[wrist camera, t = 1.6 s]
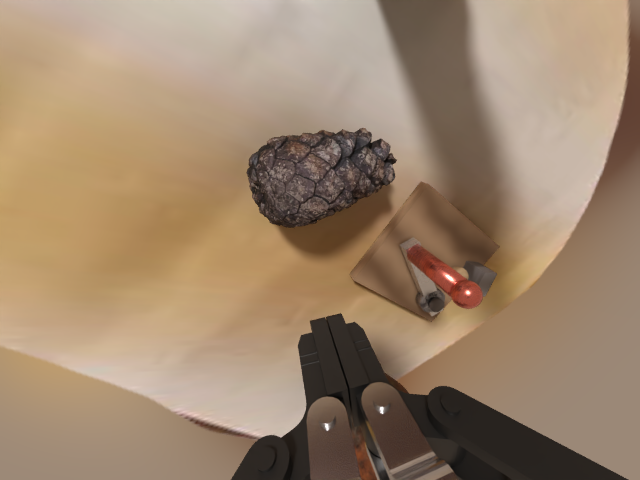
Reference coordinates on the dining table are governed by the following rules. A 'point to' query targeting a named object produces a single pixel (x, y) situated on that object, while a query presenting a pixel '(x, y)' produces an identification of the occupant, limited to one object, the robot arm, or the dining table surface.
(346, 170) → the pine cone
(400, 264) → the base
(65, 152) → the dining table surface
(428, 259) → the lever
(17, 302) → the dining table surface
